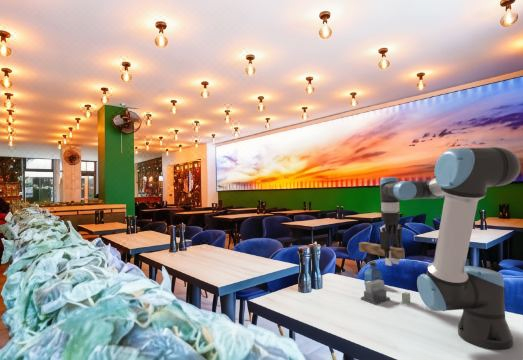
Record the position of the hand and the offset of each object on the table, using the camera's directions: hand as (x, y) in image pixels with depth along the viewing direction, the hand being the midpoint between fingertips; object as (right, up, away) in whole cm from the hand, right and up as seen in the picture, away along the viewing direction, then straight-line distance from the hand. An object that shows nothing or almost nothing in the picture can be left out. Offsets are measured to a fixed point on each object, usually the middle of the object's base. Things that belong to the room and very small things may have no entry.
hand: (392, 264), depth 142 cm
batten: (-3, +3, +5) cm, 7 cm away
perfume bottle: (-1, -17, +22) cm, 28 cm away
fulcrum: (-7, -17, +3) cm, 18 cm away
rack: (0, -17, +7) cm, 18 cm away
